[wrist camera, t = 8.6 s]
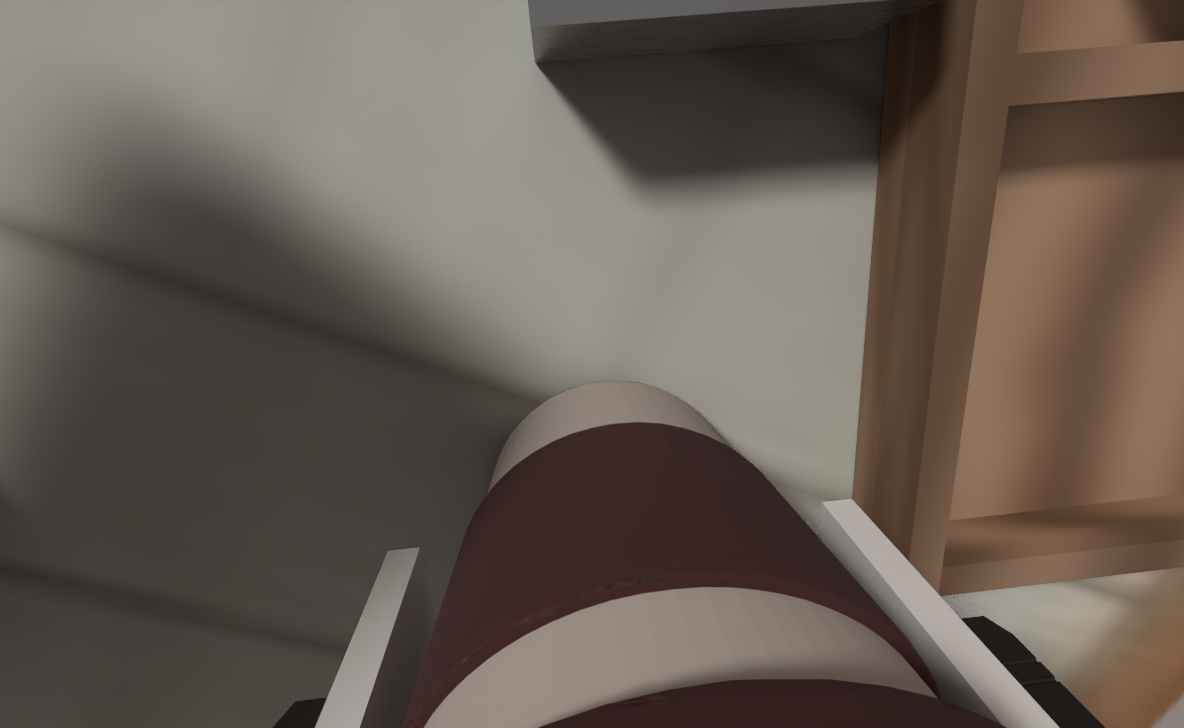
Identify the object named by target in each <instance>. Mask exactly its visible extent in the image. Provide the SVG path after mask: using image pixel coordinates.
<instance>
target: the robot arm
mask: <svg viewBox="0 0 1184 728" xmlns="http://www.w3.org/2000/svg"><path fill="white" fill-rule="evenodd" d="M820 540H821V541H822V542H823V543H824V544H825V545H826V547H827V548H828V549H829V550H830V551H831V552H832V553H833V554H834V556H835V557H836V558H837V559H838V560H839V561H840V562H841V564H842V565H843V566H844V567H845V568H846V569H847V570H848V571H849V573H850V574H851V575H852V576H853V577H854V578H855V579H856V581H857V582H858V583H859V584H860V585H861V586H862V587H863V588H864V590H865V591H866V592H867V593H868V594H869V595H870V596H871V597H872V599H873V600H874V601H875V602H876V603H877V604H878V605H879V607H880V608H881V609H882V610H883V611H884V612H885V613H886V614H887V616H888V617H889V618H890V619H891V620H892V621H893V622H894V624H895V625H896V626H897V627H898V628H899V629H900V630H901V631H902V633H903V634H904V635H905V636H906V637H907V639H908V640H909V641H910V643H911V644H912V646H913V647H914V648H915V650H916V651H917V653H918V654H919V656H920V657H921V658H922V660H923V661H924V663H925V664H926V666H927V667H928V669H929V671H930V672H931V674H932V676H933V678H934V681H935V683H936V686H937V688H938V691H939V694H940V696H941V699H942V700H943V701H946V702H949V703H952V704H955V705H957V706H960V707H962V708H965V709H967V710H969V711H972V712H974V713H977V714H979V715H982V716H984V717H986V718H989V719H991V720H993V721H995V722H997V723H999V724H1001V725H1003V726H1004V727H1006V728H1105V727H1104V726H1103V725H1102V724H1101V723H1100V722H1099V721H1098V720H1097V719H1096V718H1095V717H1094V716H1093V715H1092V714H1091V713H1090V712H1089V711H1088V710H1087V709H1086V708H1085V707H1084V706H1083V705H1082V704H1081V703H1080V702H1079V701H1078V700H1077V699H1076V698H1075V697H1074V696H1073V695H1072V694H1071V693H1070V692H1069V691H1068V690H1067V689H1066V688H1065V687H1064V686H1063V685H1062V684H1061V683H1060V682H1057V681H1056V680H1055V677H1054V675H1053V674H1052V673H1051V672H1050V671H1049V670H1048V669H1047V668H1046V667H1045V666H1044V665H1043V664H1042V663H1041V662H1037V661H1036V657H1035V656H1034V655H1033V654H1032V653H1031V652H1030V651H1029V650H1028V649H1027V648H1026V647H1025V646H1024V645H1023V644H1022V643H1021V642H1020V641H1019V640H1018V639H1017V638H1016V637H1015V636H1014V635H1013V634H1011V633H1010V632H1008V631H1007V630H1005V629H1003V628H1002V627H1000V626H999V625H997V624H995V623H994V622H992V621H991V620H989V619H987V618H986V617H984V616H980V617H972V618H963V619H960V617H959V616H958V615H957V614H956V613H955V612H954V611H953V610H952V609H951V608H950V606H949V605H948V604H947V603H946V602H945V601H944V600H943V599H942V598H941V597H940V595H939V594H938V593H937V592H936V591H935V590H934V589H933V588H932V587H931V586H930V584H929V583H928V582H927V581H926V580H925V579H924V578H923V577H922V576H921V574H920V573H919V572H918V571H917V570H916V569H915V568H914V567H913V566H912V565H911V563H910V562H909V561H908V560H907V559H906V558H905V557H904V556H903V555H902V554H901V552H900V551H899V550H898V549H897V548H896V547H895V546H894V545H893V544H892V543H891V541H890V540H889V539H888V538H887V537H886V536H885V535H884V534H883V533H882V532H881V530H880V529H879V528H878V527H877V526H876V525H875V524H874V523H873V522H872V521H871V519H870V518H869V517H868V516H867V515H866V514H865V513H864V512H863V511H862V510H861V508H860V507H859V506H858V505H857V504H856V503H855V502H854V501H853V500H852V499H846V500H837V501H828V502H822V508H821V525H820ZM435 625H436V620H435V616H434V611H433V606H432V602H431V597H430V592H429V587H428V583H427V578H426V573H425V569H424V564H423V559H422V555H421V550H420V547H418V548H409V549H400V550H391V551H388V552H387V555H386V557H385V559H384V562H383V564H382V567H381V569H380V571H379V574H378V576H377V579H376V581H375V584H374V586H373V588H372V591H371V593H370V596H369V598H368V600H367V603H366V605H365V608H364V610H363V613H362V615H361V617H360V620H359V622H358V625H357V627H356V629H355V632H354V634H353V637H352V639H351V642H350V644H349V646H348V649H347V651H346V654H345V656H344V659H343V661H342V663H341V666H340V668H339V671H338V673H337V675H336V678H335V680H334V683H333V685H332V688H331V690H330V692H329V695H328V697H327V698H320V699H312V700H304V701H296V702H295V703H294V704H293V705H292V706H291V707H290V708H289V710H288V711H287V712H286V713H285V714H284V715H283V716H282V717H281V719H280V720H279V721H278V722H277V723H276V724H275V725H274V726H273V728H401V727H402V724H403V721H404V718H405V715H406V712H407V709H408V706H409V703H410V700H411V697H412V694H413V691H414V688H415V685H416V682H417V679H418V676H419V673H420V670H421V667H422V664H423V661H424V658H425V655H426V652H427V649H428V646H429V643H430V640H431V637H432V634H433V631H434V628H435Z"/></svg>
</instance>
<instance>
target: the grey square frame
mask: <svg viewBox="0 0 1184 728" xmlns="http://www.w3.org/2000/svg"><path fill="white" fill-rule="evenodd" d="M940 1H942V0H528V4H529V14H530V24H531V32H532V41H533V49H534V57H535V63H544V62H557V61H570V60H582V59H595V58H608V57H621V56H633V55H646V54H659V53H672V52H684V51H697V50H710V49H723V48H735V47H748V46H761V45H774V44H787V43H799V42H812V41H825V40H838V39H850V38H853V37H855V36H858V35H860V34H862V33H865V32H867V31H870V30H872V29H875V28H877V27H879V26H882V25H884V24H887V23H889V22H891V21H894V20H896V19H899V18H901V17H904V16H906V15H908V14H911V13H913V12H916V11H918V10H920V9H923V8H925V7H928V6H930V5H933V4H935V3H937V2H940Z"/></svg>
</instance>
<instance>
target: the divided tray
mask: <svg viewBox="0 0 1184 728" xmlns="http://www.w3.org/2000/svg"><path fill="white" fill-rule="evenodd" d="M852 500H853V501H854V502H855V503H856V504H857V505H858V506H859V507H860V508H861V510H862V511H863V512H864V513H865V514H866V515H867V516H868V517H869V518H870V519H871V521H872V522H873V523H874V524H875V525H876V526H877V527H878V528H879V529H880V530H881V532H882V533H883V534H884V535H885V536H886V537H887V538H888V539H889V540H890V541H891V543H892V544H893V545H894V546H895V547H896V548H897V549H898V550H899V551H900V552H901V554H902V555H903V556H904V557H905V558H906V559H907V560H908V561H909V562H910V563H911V565H912V566H913V567H914V568H915V569H916V570H917V571H918V572H919V573H920V574H921V576H922V577H923V578H924V579H925V580H926V581H927V582H928V583H929V584H930V586H931V587H932V588H933V589H934V590H935V591H936V592H937V593H938V594H939V595H940V596H945V595H953V594H961V593H970V592H978V591H986V590H995V589H1003V588H1011V587H1020V586H1028V585H1036V584H1044V583H1053V582H1061V581H1069V580H1078V579H1086V578H1094V577H1103V576H1111V575H1119V574H1128V573H1136V572H1144V571H1153V570H1161V569H1169V568H1178V567H1184V0H942V1H940V2H937V3H935V4H933V5H930V6H928V7H925V8H923V9H920V10H918V11H916V12H913V13H911V14H908V15H906V16H904V17H901V18H899V19H896V20H894V21H891V22H890V27H889V40H888V53H887V65H886V78H885V91H884V103H883V116H882V129H881V141H880V154H879V167H878V180H877V192H876V205H875V218H874V230H873V243H872V256H871V268H870V281H869V294H868V307H867V319H866V332H865V345H864V357H863V370H862V383H861V395H860V408H859V421H858V434H857V446H856V459H855V472H854V484H853V497H852Z"/></svg>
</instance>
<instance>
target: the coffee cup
mask: <svg viewBox="0 0 1184 728" xmlns="http://www.w3.org/2000/svg"><path fill="white" fill-rule="evenodd" d="M401 728H1006V727H1004V726H1003V725H1001V724H999V723H997V722H995V721H993V720H991V719H989V718H986V717H984V716H982V715H979V714H977V713H974V712H972V711H969V710H967V709H965V708H962V707H960V706H957V705H955V704H952V703H949V702H946V701H943V700H942V699H941V696H940V694H939V691H938V688H937V686H936V683H935V681H934V678H933V676H932V674H931V672H930V671H929V669H928V667H927V666H926V664H925V663H924V661H923V660H922V658H921V657H920V656H919V654H918V653H917V651H916V650H915V648H914V647H913V646H912V644H911V643H910V641H909V640H908V639H907V637H906V636H905V635H904V634H903V633H902V631H901V630H900V629H899V628H898V627H897V626H896V625H895V624H894V622H893V621H892V620H891V619H890V618H889V617H888V616H887V614H886V613H885V612H884V611H883V610H882V609H881V608H880V607H879V605H878V604H877V603H876V602H875V601H874V600H873V599H872V597H871V596H870V595H869V594H868V593H867V592H866V591H865V590H864V588H863V587H862V586H861V585H860V584H859V583H858V582H857V581H856V579H855V578H854V577H853V576H852V575H851V574H850V573H849V571H848V570H847V569H846V568H845V567H844V566H843V565H842V564H841V562H840V561H839V560H838V559H837V558H836V557H835V556H834V554H833V553H832V552H831V551H830V550H829V549H828V548H827V547H826V545H825V544H824V543H823V542H822V541H821V540H820V539H819V537H818V536H817V535H816V534H815V533H814V532H813V531H812V530H811V528H810V527H809V526H808V525H807V524H806V523H805V522H804V520H803V519H802V518H801V517H800V516H799V515H798V514H797V513H796V511H795V510H794V509H793V508H792V507H791V506H790V505H789V503H788V502H787V501H786V500H785V499H784V498H783V497H782V496H781V494H780V493H779V492H778V491H777V490H776V489H775V488H774V486H773V485H772V484H771V483H770V482H769V481H768V480H767V479H766V477H765V476H764V475H763V474H762V473H761V472H760V471H759V470H758V469H757V468H756V467H755V466H754V465H753V464H752V463H750V462H749V461H748V460H747V459H745V458H744V457H743V456H741V455H740V454H739V453H738V452H736V451H735V450H733V449H732V448H730V447H729V446H727V445H726V444H725V443H724V442H723V440H722V439H721V438H720V437H719V436H718V434H717V433H716V432H715V431H714V430H713V428H712V427H711V426H710V425H709V424H708V423H707V421H706V420H705V419H704V418H703V417H702V416H701V415H700V414H699V413H698V412H697V411H696V410H695V409H694V408H692V407H691V406H690V405H689V404H687V403H686V402H684V401H683V400H681V399H679V398H678V397H676V396H674V395H672V394H670V393H668V392H666V391H663V390H661V389H659V388H657V387H653V386H649V385H645V384H642V383H636V382H629V381H603V382H597V383H591V384H586V385H580V386H578V387H575V388H572V389H569V390H566V391H564V392H562V393H560V394H558V395H556V396H554V397H552V398H550V399H548V400H547V401H545V402H544V403H543V404H541V405H540V406H539V407H537V408H536V409H535V410H533V411H532V412H531V413H529V414H528V415H527V416H526V417H525V418H524V419H523V421H522V422H521V423H520V424H519V425H518V426H517V427H516V428H515V430H514V431H513V432H512V433H511V435H510V436H509V438H508V440H507V441H506V443H505V445H504V446H503V448H502V451H501V453H500V455H499V457H498V460H497V463H496V466H495V470H494V473H493V476H492V480H491V483H490V486H489V489H488V493H487V496H486V497H485V498H484V500H483V501H482V503H481V505H480V506H479V508H478V510H477V511H476V513H475V514H474V516H473V518H472V520H471V522H470V525H469V527H468V529H467V532H466V534H465V537H464V540H463V543H462V546H461V549H460V552H459V555H458V558H457V561H456V564H455V567H454V570H453V573H452V576H451V579H450V583H449V586H448V589H447V592H446V595H445V598H444V601H443V604H442V607H441V610H440V613H439V616H438V619H437V622H436V625H435V628H434V631H433V634H432V637H431V640H430V643H429V646H428V649H427V652H426V655H425V658H424V661H423V664H422V667H421V670H420V673H419V676H418V679H417V682H416V685H415V688H414V691H413V694H412V697H411V700H410V703H409V706H408V709H407V712H406V715H405V718H404V721H403V724H402V727H401Z"/></svg>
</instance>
